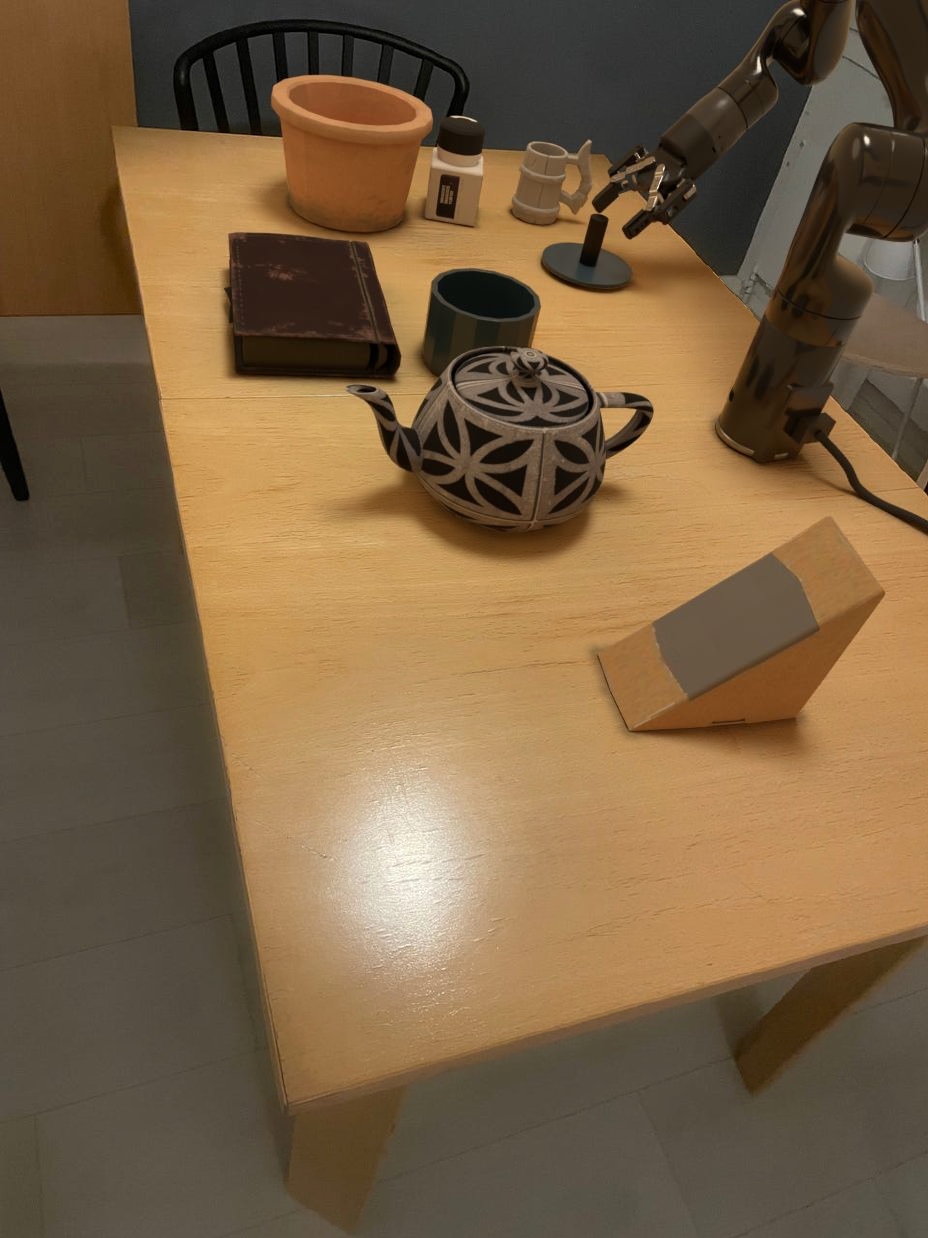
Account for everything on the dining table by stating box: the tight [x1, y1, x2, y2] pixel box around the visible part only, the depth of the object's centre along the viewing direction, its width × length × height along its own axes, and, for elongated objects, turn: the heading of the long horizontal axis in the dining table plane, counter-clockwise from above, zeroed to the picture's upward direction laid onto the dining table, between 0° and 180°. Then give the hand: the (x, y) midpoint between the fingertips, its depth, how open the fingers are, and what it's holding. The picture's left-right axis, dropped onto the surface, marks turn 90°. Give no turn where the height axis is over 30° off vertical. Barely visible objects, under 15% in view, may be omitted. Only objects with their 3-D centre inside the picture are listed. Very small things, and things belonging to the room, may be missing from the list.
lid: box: [541, 213, 634, 289], centre depth 125 cm, size 13×13×8 cm
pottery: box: [270, 74, 434, 234], centre depth 124 cm, size 22×22×14 cm
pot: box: [421, 267, 542, 378], centre depth 101 cm, size 12×12×8 cm
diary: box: [223, 231, 402, 379], centre depth 103 cm, size 19×25×5 cm
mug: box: [511, 139, 593, 226], centre depth 135 cm, size 8×12×12 cm, turn 92°
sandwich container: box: [597, 515, 886, 732], centre depth 68 cm, size 9×15×15 cm, turn 102°
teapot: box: [343, 346, 655, 533], centre depth 82 cm, size 19×31×15 cm, turn 106°
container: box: [424, 115, 486, 227], centre depth 130 cm, size 8×8×13 cm
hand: (609, 221), depth 123 cm, fingers open, 8 cm apart
